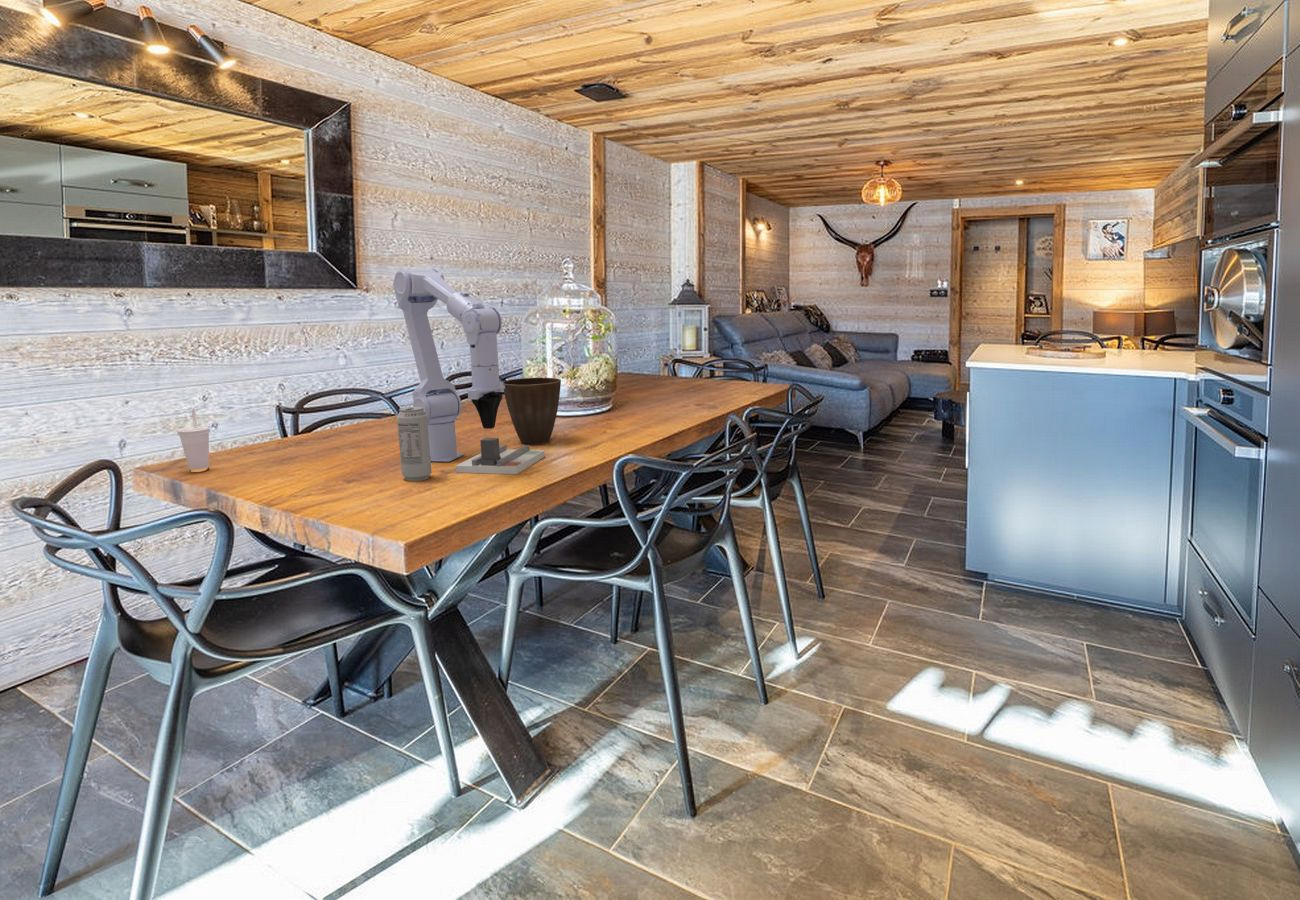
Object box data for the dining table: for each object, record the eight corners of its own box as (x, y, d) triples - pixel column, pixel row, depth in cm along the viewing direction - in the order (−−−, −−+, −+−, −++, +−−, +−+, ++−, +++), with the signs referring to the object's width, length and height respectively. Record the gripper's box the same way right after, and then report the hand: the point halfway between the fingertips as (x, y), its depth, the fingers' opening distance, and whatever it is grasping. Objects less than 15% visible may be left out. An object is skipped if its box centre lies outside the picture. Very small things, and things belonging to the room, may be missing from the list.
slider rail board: (456, 472, 167) (455, 460, 166) (489, 455, 184) (489, 444, 183) (516, 474, 164) (515, 462, 163) (544, 456, 181) (544, 445, 181)
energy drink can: (437, 476, 164) (432, 406, 161) (418, 482, 158) (412, 411, 155) (415, 473, 166) (410, 405, 163) (396, 480, 161) (389, 409, 158)
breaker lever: (481, 465, 166) (479, 440, 165) (488, 461, 170) (487, 437, 169) (493, 465, 166) (492, 440, 165) (501, 461, 169) (499, 437, 168)
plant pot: (538, 450, 189) (535, 385, 186) (493, 444, 197) (489, 382, 193) (575, 439, 201) (572, 379, 198) (531, 434, 209) (528, 376, 206)
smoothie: (221, 468, 175) (213, 408, 172) (195, 475, 169) (186, 412, 166) (203, 466, 178) (194, 407, 175) (176, 472, 172) (167, 411, 169)
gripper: (488, 368, 156) (493, 434, 158) (514, 362, 169) (518, 422, 172) (456, 368, 157) (461, 433, 160) (485, 362, 171) (489, 422, 174)
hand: (488, 428), depth 166 cm, fingers closed
